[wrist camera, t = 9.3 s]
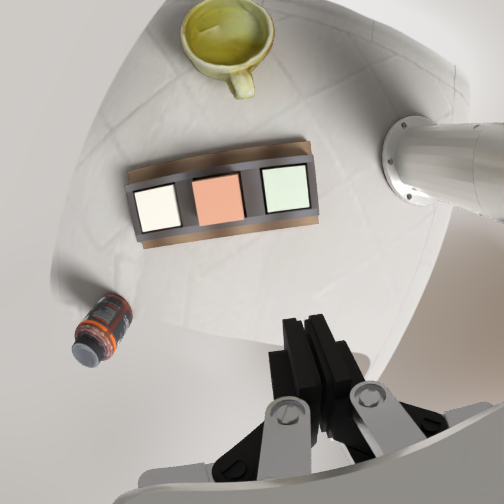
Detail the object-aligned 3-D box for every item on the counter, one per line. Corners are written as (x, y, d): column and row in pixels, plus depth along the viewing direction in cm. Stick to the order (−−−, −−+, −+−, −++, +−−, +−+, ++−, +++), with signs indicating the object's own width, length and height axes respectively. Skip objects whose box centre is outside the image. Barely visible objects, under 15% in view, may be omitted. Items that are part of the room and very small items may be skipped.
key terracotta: (237, 173, 29) (237, 174, 27) (244, 215, 31) (244, 219, 28) (195, 180, 29) (191, 182, 27) (202, 221, 31) (199, 226, 28)
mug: (173, 18, 23) (183, -13, 15) (252, 18, 26) (287, -6, 18) (175, 105, 30) (186, 102, 21) (254, 100, 33) (291, 99, 24)
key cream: (177, 183, 31) (172, 185, 29) (184, 220, 33) (180, 225, 30) (141, 190, 31) (134, 193, 29) (149, 226, 33) (142, 231, 30)
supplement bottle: (95, 293, 37) (57, 334, 26) (128, 292, 37) (95, 337, 26) (106, 326, 39) (75, 371, 28) (138, 326, 39) (112, 376, 28)
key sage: (300, 164, 31) (304, 165, 29) (304, 203, 32) (309, 207, 30) (261, 169, 31) (262, 170, 29) (266, 208, 32) (267, 212, 30)
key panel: (307, 141, 31) (314, 139, 28) (316, 221, 34) (323, 228, 31) (130, 171, 32) (119, 172, 28) (146, 246, 35) (137, 255, 31)
